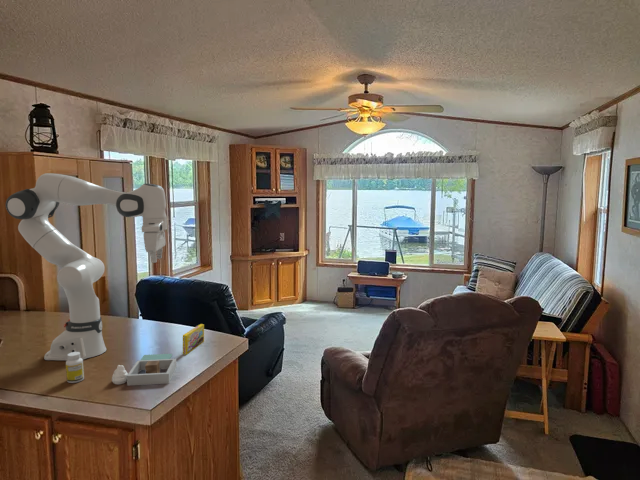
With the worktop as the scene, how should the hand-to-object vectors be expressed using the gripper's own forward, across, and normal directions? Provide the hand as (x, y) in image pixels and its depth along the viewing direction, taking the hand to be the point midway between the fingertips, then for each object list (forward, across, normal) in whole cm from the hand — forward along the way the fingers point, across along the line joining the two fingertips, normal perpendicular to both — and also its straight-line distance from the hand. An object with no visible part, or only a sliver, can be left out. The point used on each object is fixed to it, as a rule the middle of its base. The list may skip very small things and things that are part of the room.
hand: (156, 260), depth 179 cm
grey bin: (+39, +19, +1) cm, 44 cm away
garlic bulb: (+40, +22, -10) cm, 46 cm away
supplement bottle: (+39, +19, -26) cm, 51 cm away
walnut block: (+40, +19, +1) cm, 44 cm away
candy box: (+40, -9, +11) cm, 42 cm away
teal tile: (+39, +4, -2) cm, 40 cm away
